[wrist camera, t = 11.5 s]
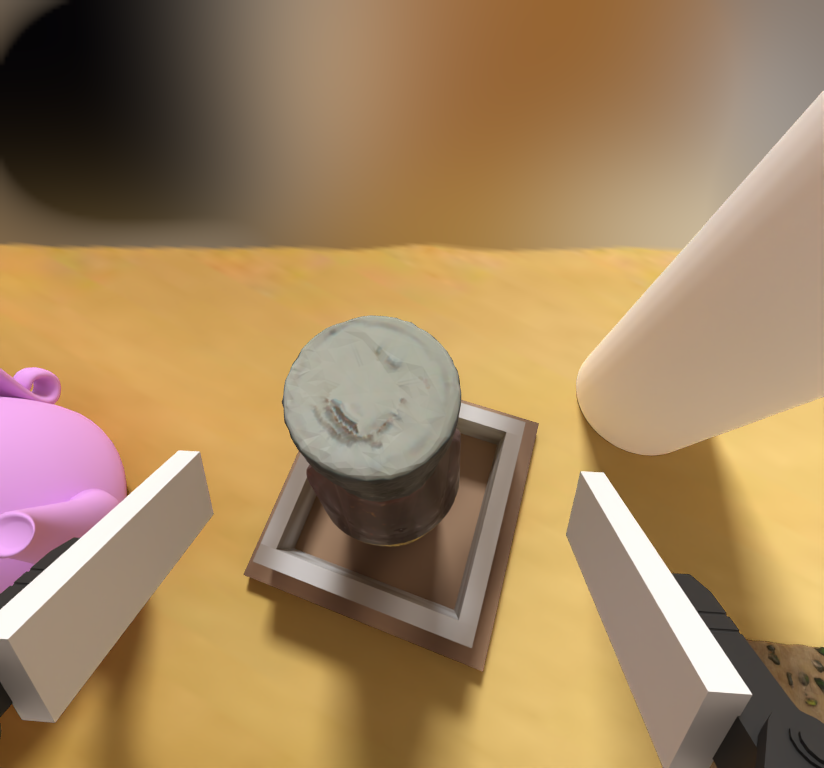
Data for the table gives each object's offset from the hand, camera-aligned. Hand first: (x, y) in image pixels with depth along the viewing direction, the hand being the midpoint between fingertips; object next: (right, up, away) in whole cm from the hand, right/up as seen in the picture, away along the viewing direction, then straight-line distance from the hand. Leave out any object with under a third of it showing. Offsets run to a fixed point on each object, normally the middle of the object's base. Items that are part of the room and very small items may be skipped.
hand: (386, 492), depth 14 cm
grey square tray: (0, -4, +14) cm, 15 cm away
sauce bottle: (0, -4, +13) cm, 14 cm away
